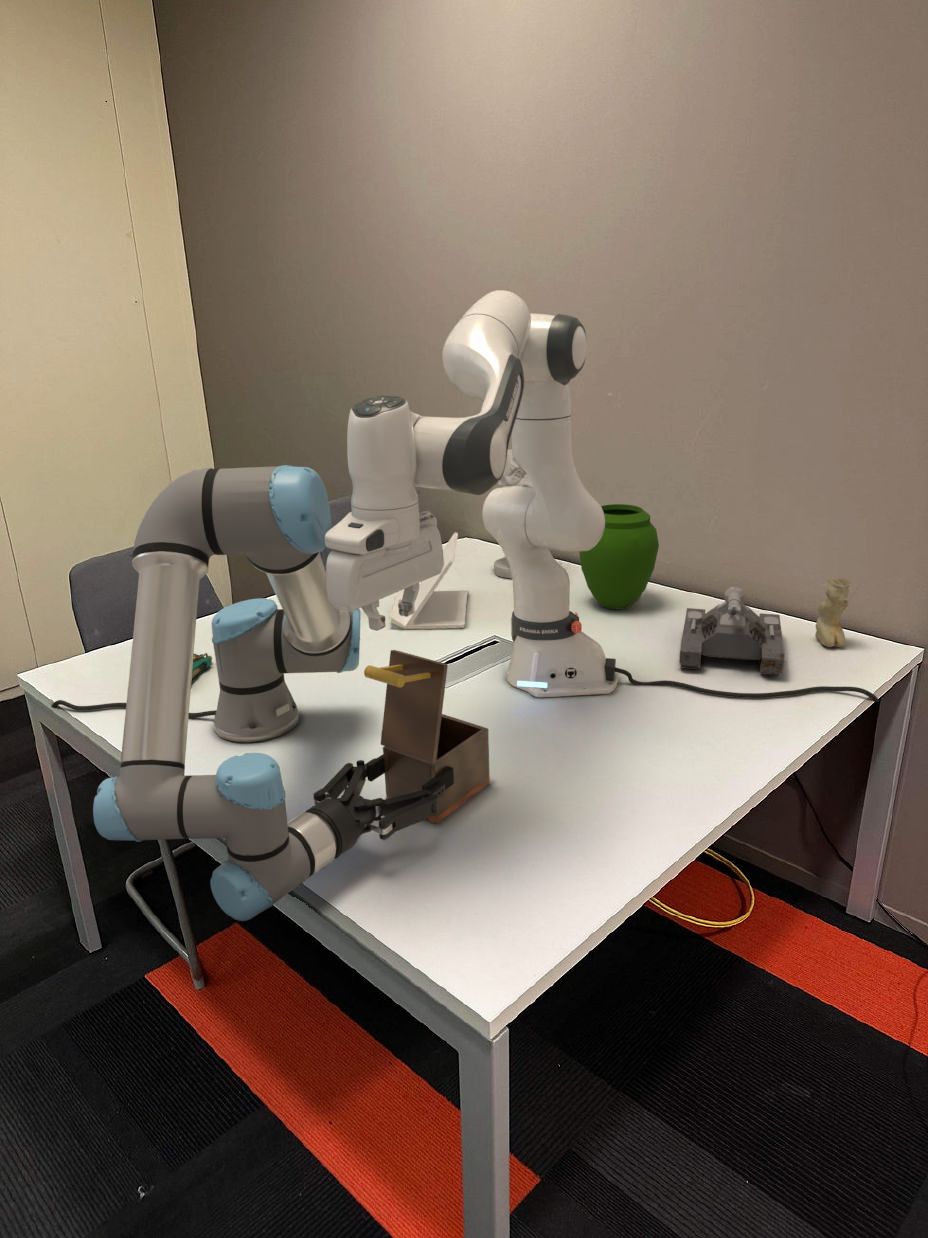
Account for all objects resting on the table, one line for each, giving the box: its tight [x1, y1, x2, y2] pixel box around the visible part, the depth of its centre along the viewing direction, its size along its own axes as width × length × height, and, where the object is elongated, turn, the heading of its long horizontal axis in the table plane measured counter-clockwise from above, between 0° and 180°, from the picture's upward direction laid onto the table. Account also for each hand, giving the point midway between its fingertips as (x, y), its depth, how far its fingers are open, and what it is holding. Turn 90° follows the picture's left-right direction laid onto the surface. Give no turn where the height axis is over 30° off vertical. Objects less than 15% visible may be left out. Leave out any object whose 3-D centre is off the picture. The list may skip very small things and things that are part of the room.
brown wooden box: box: [382, 713, 491, 825], centre depth 134 cm, size 14×10×10 cm
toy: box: [678, 586, 785, 676], centre depth 181 cm, size 25×20×15 cm
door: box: [363, 649, 449, 763], centre depth 122 cm, size 15×10×9 cm
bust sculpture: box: [493, 448, 534, 579], centre depth 231 cm, size 16×24×35 cm
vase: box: [578, 503, 660, 610], centre depth 210 cm, size 20×20×24 cm
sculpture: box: [814, 576, 852, 648], centre depth 185 cm, size 6×7×15 cm
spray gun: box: [192, 652, 213, 679], centre depth 180 cm, size 4×17×15 cm
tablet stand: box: [388, 531, 468, 630], centre depth 211 cm, size 18×25×17 cm
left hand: (423, 764), depth 130 cm, fingers closed on brown wooden box, 10 cm apart
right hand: (392, 621), depth 118 cm, fingers open, 5 cm apart
